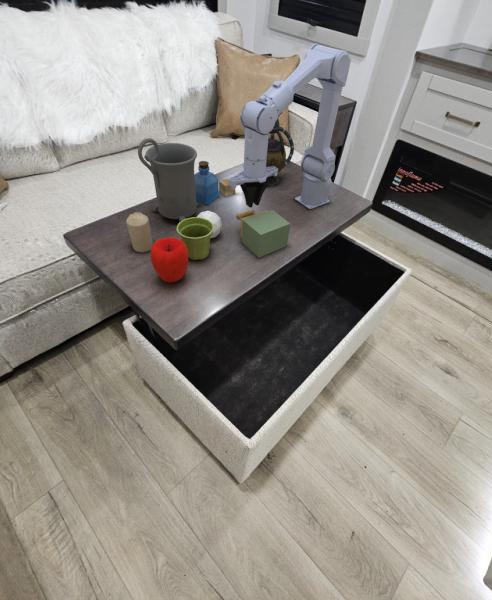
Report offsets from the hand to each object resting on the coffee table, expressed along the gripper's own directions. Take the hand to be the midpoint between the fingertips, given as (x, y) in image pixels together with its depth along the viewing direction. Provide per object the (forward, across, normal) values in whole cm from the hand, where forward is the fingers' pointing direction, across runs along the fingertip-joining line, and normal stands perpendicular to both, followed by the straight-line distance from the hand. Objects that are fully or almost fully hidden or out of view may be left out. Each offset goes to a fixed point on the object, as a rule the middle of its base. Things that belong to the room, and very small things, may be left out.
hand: (252, 204), depth 94 cm
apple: (+10, -28, -6) cm, 31 cm away
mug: (+10, -15, +19) cm, 26 cm away
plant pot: (+10, -18, 0) cm, 21 cm away
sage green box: (+9, 0, -7) cm, 12 cm away
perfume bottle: (+10, -2, +24) cm, 26 cm away
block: (+9, +7, +24) cm, 26 cm away
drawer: (+9, 0, -2) cm, 9 cm away
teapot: (+10, +21, +23) cm, 33 cm away
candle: (+10, -30, +10) cm, 33 cm away
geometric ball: (+10, -12, +5) cm, 16 cm away
